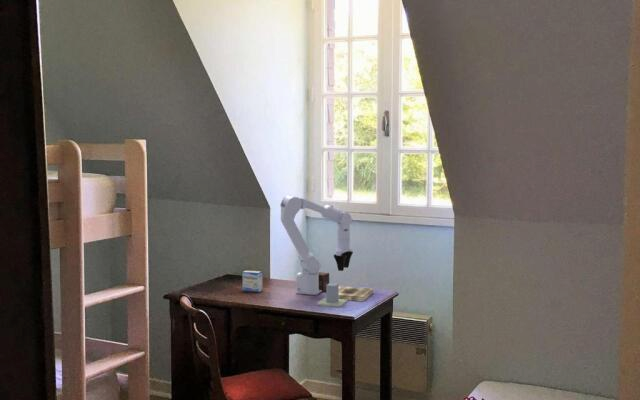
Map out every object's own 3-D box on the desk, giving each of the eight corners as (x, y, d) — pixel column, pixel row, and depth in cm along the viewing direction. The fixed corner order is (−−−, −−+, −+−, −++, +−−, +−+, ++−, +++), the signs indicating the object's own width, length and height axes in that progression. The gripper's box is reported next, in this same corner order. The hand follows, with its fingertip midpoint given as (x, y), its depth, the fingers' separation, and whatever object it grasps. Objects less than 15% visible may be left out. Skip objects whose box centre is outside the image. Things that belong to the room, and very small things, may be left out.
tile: (316, 305, 289) (316, 303, 289) (324, 299, 299) (324, 297, 299) (340, 307, 286) (340, 305, 286) (347, 301, 296) (347, 299, 296)
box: (329, 288, 319) (329, 272, 318) (323, 291, 314) (323, 275, 313) (317, 287, 322) (317, 271, 321) (311, 290, 317) (311, 274, 316)
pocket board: (326, 298, 301) (326, 293, 301) (337, 290, 316) (337, 286, 316) (362, 301, 296) (362, 296, 295) (372, 293, 311) (372, 288, 310)
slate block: (326, 302, 291) (326, 285, 291) (329, 299, 295) (329, 283, 294) (335, 302, 290) (335, 285, 289) (338, 300, 294) (338, 283, 293)
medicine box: (242, 291, 315) (242, 271, 314) (246, 288, 320) (246, 269, 319) (258, 292, 313) (258, 272, 312) (262, 290, 317) (262, 270, 316)
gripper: (347, 241, 307) (347, 272, 308) (356, 236, 320) (356, 266, 322) (331, 240, 309) (331, 271, 310) (341, 236, 323) (341, 265, 324)
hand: (343, 269), depth 316 cm, fingers open, 7 cm apart
